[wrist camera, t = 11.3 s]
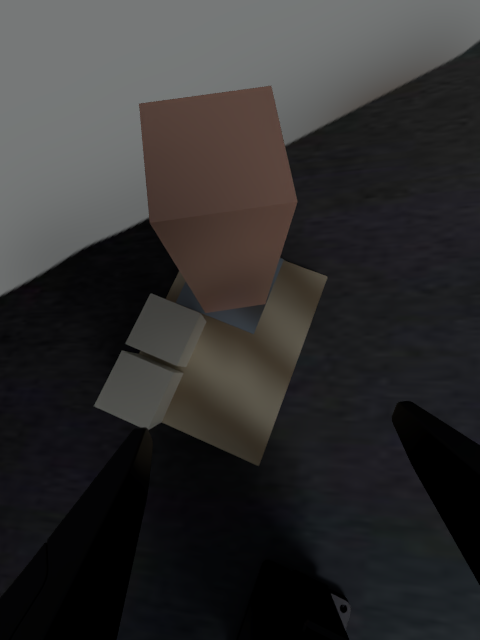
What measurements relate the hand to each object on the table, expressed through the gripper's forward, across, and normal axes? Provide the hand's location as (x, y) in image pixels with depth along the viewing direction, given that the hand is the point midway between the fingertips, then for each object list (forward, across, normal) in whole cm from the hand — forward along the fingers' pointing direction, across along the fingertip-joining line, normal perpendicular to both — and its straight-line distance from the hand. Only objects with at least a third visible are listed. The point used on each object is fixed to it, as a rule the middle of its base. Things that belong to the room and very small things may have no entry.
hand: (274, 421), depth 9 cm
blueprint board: (+12, +2, +5) cm, 13 cm away
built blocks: (+11, +7, +5) cm, 14 cm away
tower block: (+14, +1, 0) cm, 15 cm away
